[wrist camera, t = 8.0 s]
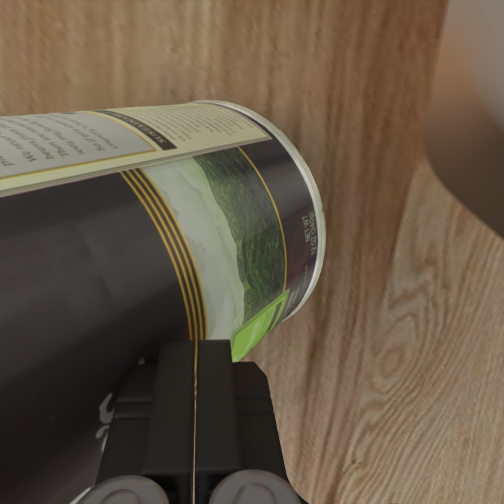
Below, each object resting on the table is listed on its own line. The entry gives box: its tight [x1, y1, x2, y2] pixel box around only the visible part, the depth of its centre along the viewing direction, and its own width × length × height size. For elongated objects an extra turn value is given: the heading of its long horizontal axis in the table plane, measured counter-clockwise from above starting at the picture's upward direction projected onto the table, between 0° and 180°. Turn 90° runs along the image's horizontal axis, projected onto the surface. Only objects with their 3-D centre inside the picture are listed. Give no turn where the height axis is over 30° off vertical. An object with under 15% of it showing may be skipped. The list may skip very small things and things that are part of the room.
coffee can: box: [0, 100, 326, 504], centre depth 14 cm, size 10×10×14 cm
